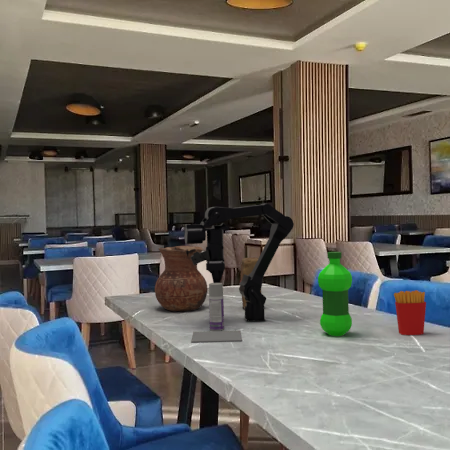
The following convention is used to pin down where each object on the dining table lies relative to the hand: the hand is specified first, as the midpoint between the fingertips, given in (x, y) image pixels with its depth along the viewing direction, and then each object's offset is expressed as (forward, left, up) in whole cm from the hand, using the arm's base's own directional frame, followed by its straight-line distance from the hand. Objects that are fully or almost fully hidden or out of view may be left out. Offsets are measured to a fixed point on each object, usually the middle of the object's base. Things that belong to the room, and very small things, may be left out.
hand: (216, 288), depth 182 cm
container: (0, +11, -12) cm, 16 cm away
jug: (+14, -30, -12) cm, 36 cm away
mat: (0, +21, -12) cm, 25 cm away
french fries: (-59, +24, -12) cm, 64 cm away
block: (-14, -27, -12) cm, 33 cm away
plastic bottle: (-37, +22, -12) cm, 44 cm away
